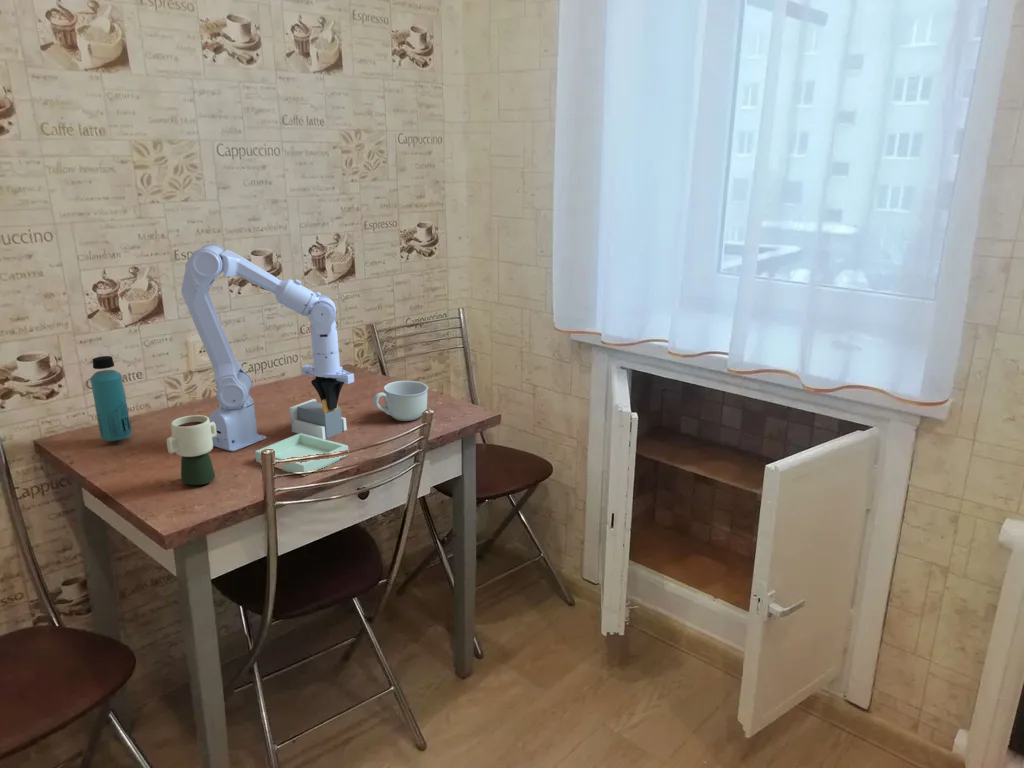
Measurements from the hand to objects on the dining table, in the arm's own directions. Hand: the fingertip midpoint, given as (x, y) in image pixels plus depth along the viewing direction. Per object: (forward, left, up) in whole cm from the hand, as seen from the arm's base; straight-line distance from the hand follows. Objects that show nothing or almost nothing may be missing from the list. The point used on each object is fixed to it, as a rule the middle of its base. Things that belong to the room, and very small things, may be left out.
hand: (330, 408), depth 170 cm
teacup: (+17, -6, -7) cm, 19 cm away
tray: (-14, -5, -6) cm, 16 cm away
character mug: (-33, +4, -7) cm, 34 cm away
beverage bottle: (-29, +39, -7) cm, 49 cm away
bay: (0, +4, -6) cm, 7 cm away
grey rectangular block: (0, +4, -6) cm, 7 cm away
